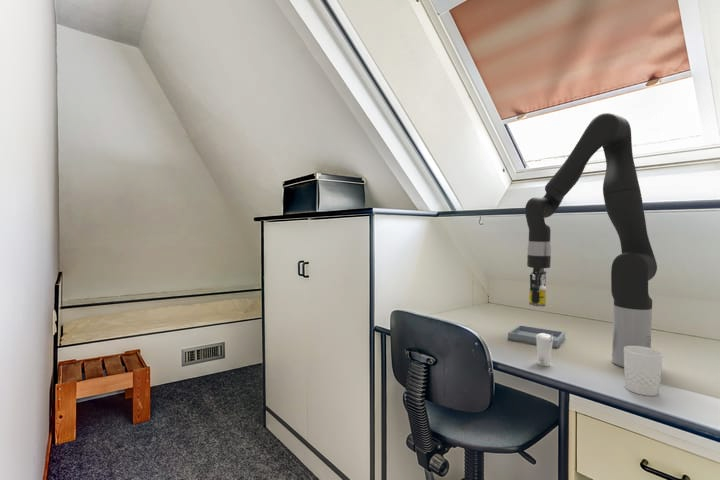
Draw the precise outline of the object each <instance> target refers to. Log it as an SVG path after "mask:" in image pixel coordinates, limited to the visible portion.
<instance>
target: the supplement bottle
mask: <svg viewBox="0 0 720 480" xmlns="http://www.w3.org/2000/svg"><path fill="white" fill-rule="evenodd" d="M539 283H540V282H539ZM543 284H544V280H543V281H542V286H541V287H540V293H539V303H533V302H532V291H531V290H530V289H529V295H528V305H529V307H532V308H535V309H544V308H546V304H547V302H546V299H547V287H546V286H544V285H543ZM534 287H535V288H536V286H534Z"/></svg>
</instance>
